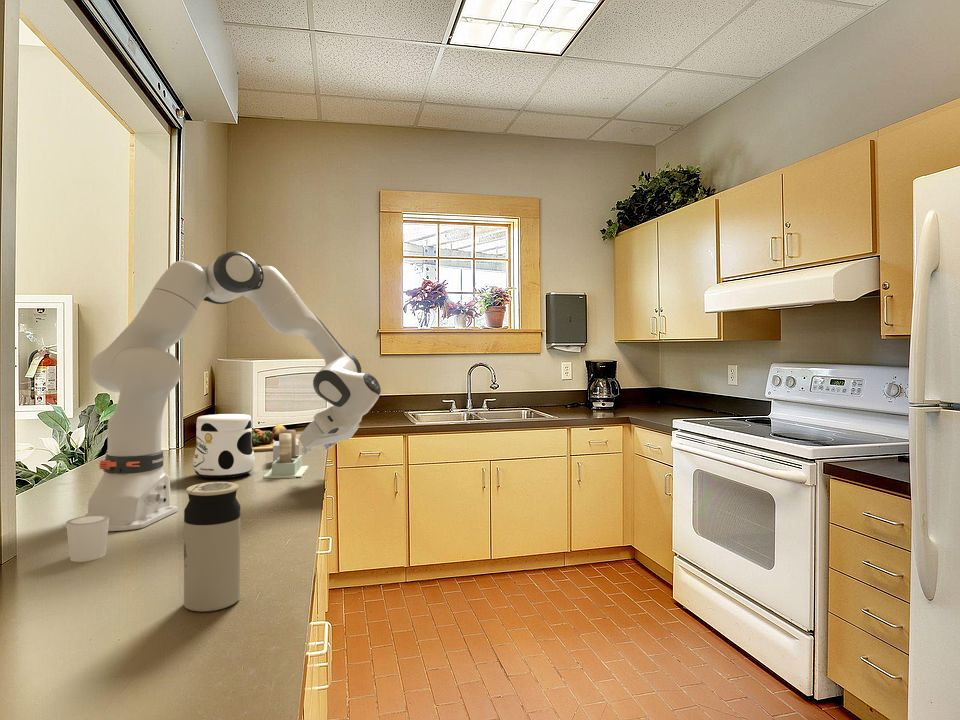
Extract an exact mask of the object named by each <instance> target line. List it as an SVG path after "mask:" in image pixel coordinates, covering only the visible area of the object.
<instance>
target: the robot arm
mask: <svg viewBox="0 0 960 720" xmlns="http://www.w3.org/2000/svg"><path fill="white" fill-rule="evenodd" d="M241 297H244V298H246V299H248V300H250V301H251V302H252V304H253V305H255V307H256V308H257V310H258V311H259V312H260V314H261V316H262V317H263V318H264V320H265V322H266V323H267V324H268V325H269V326H270V327H271V328H272V329H273V330H274V331H275V332H276V333H278V334H280V335H285V336H286V335H287V336H293V335H294V336H300V337H303V338H305V339H306V340H307V341H308V342H309V343H310V344H311V345H312V346H313V347H314V349H315V350H316V351H317V352H318V353H319V355H320V356H321V357H322V359H324V363H325V365H324V366H323V367H321V369H320V370H319V371H318V372H317V373H315V374H314V375H315V376H314V377H313V380H312V386H313V389H314V391H315V393H316V395H318V396H319V398H322V399H323V400H324V401H325V402H327V403H329V404H331V405H332V406H330V407H328V408H327V409H324V410H322V411H321V412H317V413H316V414H315V415H313V420H312V421H311V422H310V423H309V424H308V425H307V426H306V427H305V428H304V429H303V430H302V433H300V435H299V437H298V440H299V443H301V445H302V447H303V448H301V452H302V453H303V455H306V454H307V455H308V454H309V453H310V452H311V451H312V449H311V448H313V447H317V446H322V445H323V447H324V448H325V450H331V449H332V448H333V447H334V446H335V445H336V444H338V443H339V442H343V441H349V440H350V439H352V437H353V436H354V435H355V433H356V432H357V431H358V429H359V428H360V423H361V422H362V418H363V417H364V415H366V414H368V413H369V412H370V410H371V409H372V408H373V407H374V405H375V404H376V403H377V401H378V400H379V397H380V395H381V392H382V391H381V390H382V388H381V385H380V383H379V381H378V380H377V379H376V377H375V376H374V375H373V374H371V373H368V372H362V366H361V363H360V361H359V360H358V359H357V357H355V355H353V354H352V353H351V352H349V351H347V349H345V348H344V347H343V346H342V345H341V344H340V343H339V341H338V340H337V339H336V338H335V337H334V335H333V334H332V333H331V332H330V331H329V329H328V328H327V327H326V326H325V324H324V323H323V322H322V320H321V319H320V318H318V316H317V315H316V314H314V312H312V311H311V310H310V309H309V307H308V306H307V305H306V304H305V302H304V301H303V300H302V298H301V297H300V296H299V294H298V293H297V292H296V290H295V289H294V287H293V286H292V284H291V283H290V282H289V281H288V280H287V278H286V277H285V276H284V275H283V274H282V273H281V272H280V271H279V270H278V269H277V268H275V266H272V265H261V264H260V263H258V262H256V261H255V259H253V258H252V257H251V256H249V255H248V254H246V253H244V252H241V251H235V250H232V251H227V252H224V253H222V254H221V255H219V256H218V257H217V258H215V259H214V260H213V261H211V262H210V263H208V265H205V266H201V265H199V264H197V263H195V262H192V261H189V260H177V261H175V262H173V263H171V265H170V266H169V267H168V268H167V269H166V270H165V271H164V273H162V275H161V276H160V278H158V280H157V282H156V283H155V284H154V287H152V290H151V291H150V293H149V295H148V296H147V297H146V299H145V301H144V303H143V304H142V306H141V307H140V309H139V311H138V313H137V314H136V315H135V316H134V318H133V320H131V322H130V323H129V324H128V325H127V326H126V327H125V329H124V330H123V331H121V333H120V334H119V335H118V336H117V337H116V338H115V339H114V340H113V341H112V343H111V344H109V346H107V347H106V348H105V349H103V350H102V351H101V352H99V353H97V354H96V355H95V357H93V359H92V361H91V363H90V367H89V368H90V369H89V373H90V375H91V378H92V380H93V381H94V382H95V384H97V385H98V386H99V387H102V388H103V389H105V390H107V391H110V392H113V393H118V394H119V395H118V400H117V405H116V407H115V410H114V411H113V413H112V414H111V416H110V417H109V418H108V421H107V454H105V457H104V458H105V459H104V460H103V459H102V460H100V461H99V463H98V468H99V470H102V472H103V474H102V476H101V477H100V479H99V481H98V482H97V485H96V487H95V488H94V490H93V491H92V493H91V495H90V497H89V498H88V505H87V513H86V514H85V515H84V516H91V515H104V516H108V517H109V526H108V532H116V531H117V532H118V531H129V530H130V531H131V530H137V529H143V528H145V527H147V526H149V525H152V524H154V523H155V522H158V521H160V520H162V519H164V518H166V517H168V516H170V515H173V514H174V513H177V512H178V506H176V505H173V504H172V494H171V493H172V492H171V483H170V482H171V480H170V479H171V478H170V476H169V474H167V473H166V472H165V470H164V469H163V466H164V459H165V458H164V457H165V456H164V451H163V450H162V425H163V415H164V410H165V407H166V404H167V401H168V398H169V395H170V393H171V392H172V390H173V389H174V388H175V387H176V386H177V384H178V383H179V381H180V379H181V376H182V375H181V374H182V368H181V365H180V362H179V360H178V359H177V357H175V356H174V355H173V354H172V353H170V352H168V349H170V348H171V347H172V346H174V345H175V344H177V343H178V342H179V341H180V340H182V338H183V337H184V335H185V334H186V331H187V330H188V328H189V326H190V324H191V322H192V320H193V319H194V317H195V315H196V313H197V311H198V310H199V307H200V305H201V304H202V302H203V301H204V302H208V303H211V304H216V305H224V304H225V305H226V304H229V303H231V302H233V301H235V300H236V299H238V298H241Z"/></svg>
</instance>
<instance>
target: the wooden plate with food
mask: <svg viewBox="0 0 960 720" xmlns="http://www.w3.org/2000/svg"><path fill="white" fill-rule="evenodd" d="M284 430H288V429H287V428H286V427H285V426H284V425H283V424H281V423H277V424H275V426H274V427H273V428H272V431H271V430H261V429H258V428H257V429H252V437H251V442H252V448H253V451H254V453H265V452H273V442H274V441H279V434H281V433H284ZM297 440H298V444H299V445H300V440H299V438H297V437H296V441H297Z"/></svg>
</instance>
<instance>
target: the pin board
mask: <svg viewBox="0 0 960 720" xmlns="http://www.w3.org/2000/svg"><path fill="white" fill-rule="evenodd" d="M284 433H291V434H292V448H291V463H279V457H278V458H277V460H275V461H274V462H273V461H272V463H271V468H270V470H269V471H267V472H266V473H265V474H264V475H263V477H262V478H263V479H297V478H296V477H301V478H303V476H304V475H305V473H306V472H307V471H308V469H309V467H310V465H303V454H299V455H296V438H297V437H296V436H297V431H296V429H287V430H284ZM306 470H307V471H306ZM303 474H304V475H303Z"/></svg>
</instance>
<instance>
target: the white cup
mask: <svg viewBox="0 0 960 720" xmlns="http://www.w3.org/2000/svg"><path fill="white" fill-rule="evenodd" d="M65 526H66V535H67V544H68V553H69V560H70V561H71V562H77V563H83V562H90V561H95V560H99V559H101V558H103V557H105V556H106V554H107V545H108V544H107V543H108V534H109V531H108V526H109V517H108V516H104V515H91V516H85V515H84V516H78V517H75V518H71V519H68V520H67V521H66V522H65Z"/></svg>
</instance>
